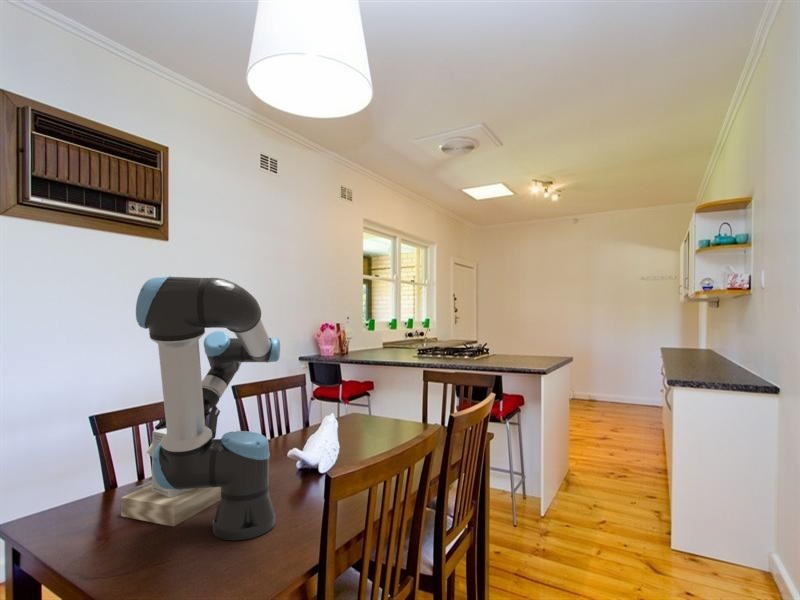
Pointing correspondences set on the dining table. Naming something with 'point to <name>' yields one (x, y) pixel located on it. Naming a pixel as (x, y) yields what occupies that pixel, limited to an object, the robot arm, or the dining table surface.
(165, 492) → the supplement box
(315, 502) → the dining table surface
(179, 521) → the birch stacking block
